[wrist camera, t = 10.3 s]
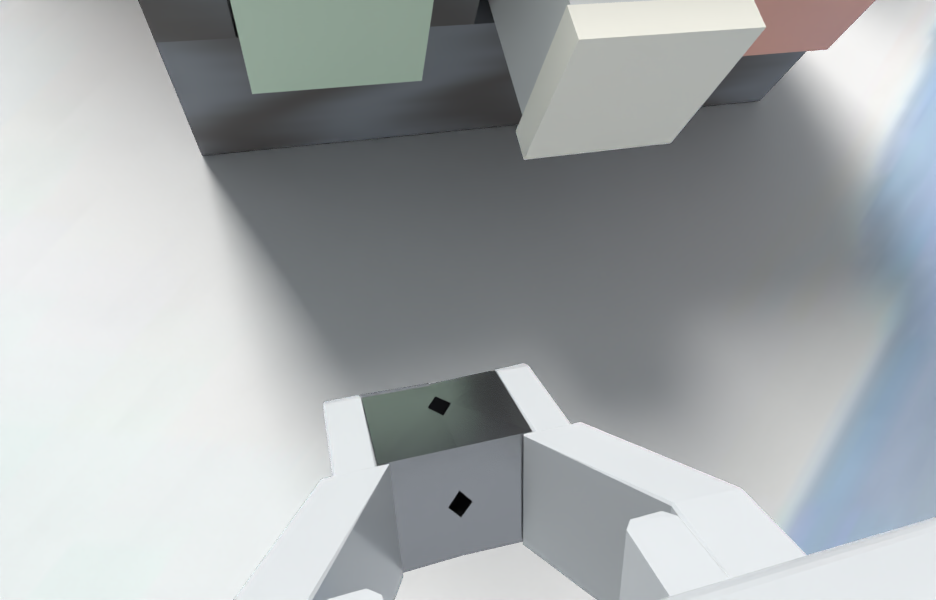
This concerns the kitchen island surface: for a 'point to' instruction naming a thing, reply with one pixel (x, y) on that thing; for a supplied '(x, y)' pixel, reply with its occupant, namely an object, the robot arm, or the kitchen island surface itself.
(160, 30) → the console
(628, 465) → the robot arm
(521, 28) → the cream button
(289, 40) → the sage button
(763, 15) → the coral button
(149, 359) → the kitchen island surface
